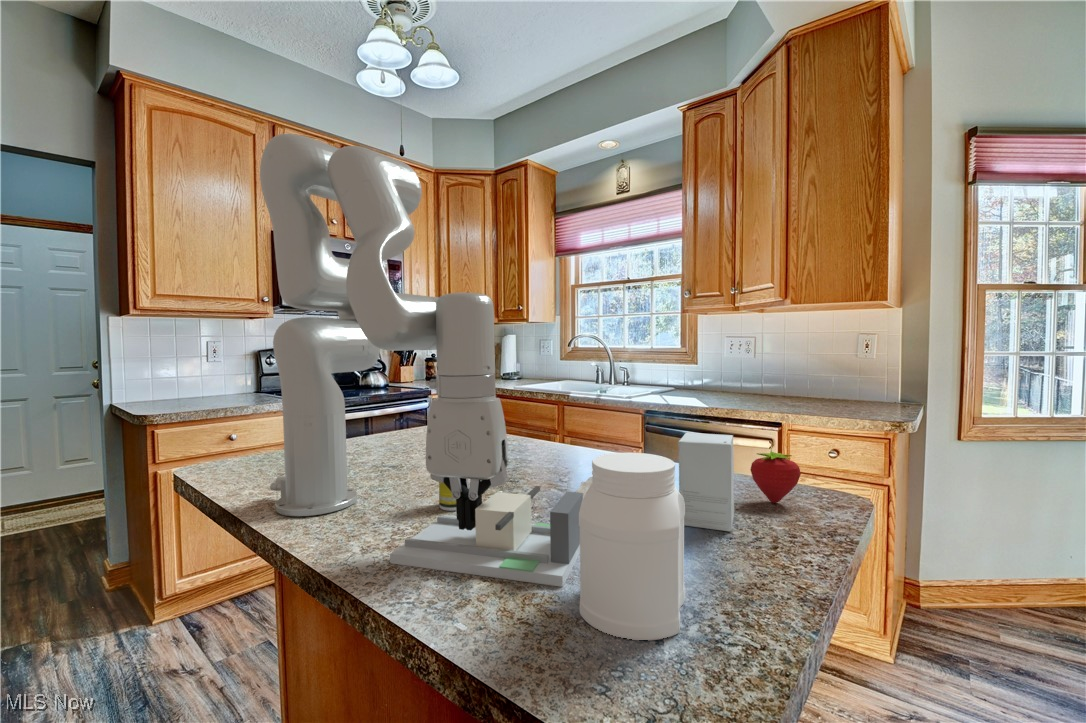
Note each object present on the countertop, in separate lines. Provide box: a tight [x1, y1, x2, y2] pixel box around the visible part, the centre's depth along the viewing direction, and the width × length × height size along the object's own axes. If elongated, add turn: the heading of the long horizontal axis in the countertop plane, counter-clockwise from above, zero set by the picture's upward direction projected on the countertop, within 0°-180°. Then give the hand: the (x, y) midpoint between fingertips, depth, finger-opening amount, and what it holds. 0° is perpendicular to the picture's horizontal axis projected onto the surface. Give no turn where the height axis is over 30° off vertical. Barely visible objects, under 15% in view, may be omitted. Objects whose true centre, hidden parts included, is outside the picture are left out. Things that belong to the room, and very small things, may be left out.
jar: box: [579, 452, 686, 641], centre depth 50 cm, size 12×10×15 cm
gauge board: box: [389, 491, 583, 588], centre depth 64 cm, size 22×14×7 cm, turn 73°
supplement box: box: [677, 432, 735, 532], centre depth 73 cm, size 7×7×13 cm
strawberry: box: [750, 443, 802, 504], centre depth 81 cm, size 6×8×10 cm
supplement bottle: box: [438, 482, 456, 512], centre depth 81 cm, size 5×5×8 cm
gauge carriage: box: [475, 485, 541, 551], centre depth 63 cm, size 5×15×5 cm, turn 163°
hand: (469, 525), depth 65 cm, fingers closed
